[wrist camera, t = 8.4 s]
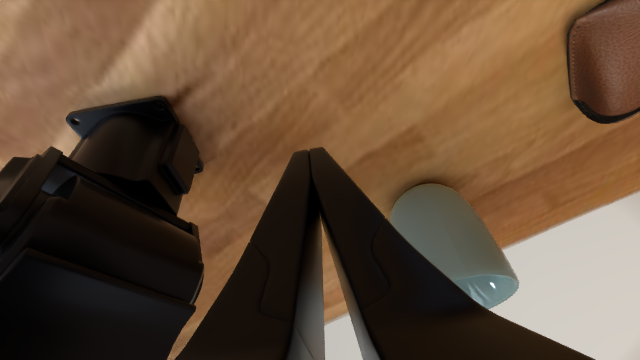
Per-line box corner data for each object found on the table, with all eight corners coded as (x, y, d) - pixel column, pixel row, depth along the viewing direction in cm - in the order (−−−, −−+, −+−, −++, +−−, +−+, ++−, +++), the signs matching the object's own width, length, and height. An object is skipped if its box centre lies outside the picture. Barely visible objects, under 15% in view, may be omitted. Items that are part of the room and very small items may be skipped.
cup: (416, 159, 26) (469, 265, 19) (477, 184, 29) (542, 282, 22) (365, 214, 31) (393, 315, 24) (422, 230, 34) (462, 324, 27)
